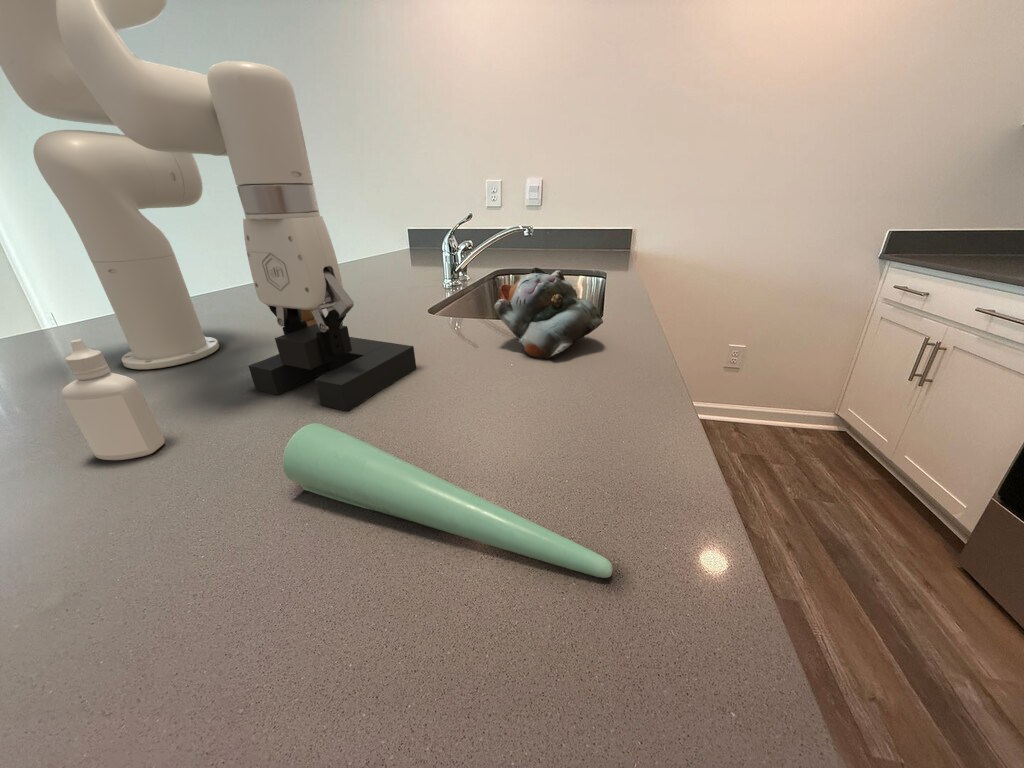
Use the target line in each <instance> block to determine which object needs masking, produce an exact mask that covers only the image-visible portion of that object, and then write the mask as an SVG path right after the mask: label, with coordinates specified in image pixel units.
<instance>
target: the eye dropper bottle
mask: <svg viewBox="0 0 1024 768" xmlns="http://www.w3.org/2000/svg"><path fill="white" fill-rule="evenodd" d="M70 344H71V349H72V352H71V354H70V355H68V356H66V357H65V362H66V364H67V365H68V367H69V369H70V371H71V373H72V376H73V377H74V379H75V380H73V381H71V382H70V383H68V384H66V385H65V386H64V387H63V388H62V390H61V397H62V398H63V400H64V403H65V404H66V406H67V408H68V410H69V412H70V414H71V415H72V418H73V419H74V421H75V423H76V425H77V427H78V429H79V430H80V432H81V435H83V437H84V439H85V441H86V443H87V445H88V446H89V448H90V450H91V452H92V454H93V455H94V456H95V457H96V458H97V459H99V460H103V461H124V460H132V459H136V458H141V457H146V456H149V455H151V454H153V453H155V452H156V451H157V450H159V449H160V448H161V447H162V446H163V445H164V444H165V438H164V435H163V433H162V431H161V430H160V427H159V425H158V423H157V421H156V418H155V417H154V414H153V411H152V410H151V407H150V405H149V403H148V401H147V399H146V396H145V395H144V393H143V391H142V388H141V386H140V385H139V383H138V382H137V381H136V380H135V379H134V378H132V377H129V376H128V375H123V374H119V373H114V372H111V369H110V366H109V364H108V362H107V360H106V358H105V356H104V354H103V352H102V351H101V350H97V349H91V348H89V346H88V345H87V344H85V342H84V341H83V340H82V339H74V340H71V341H70Z"/></svg>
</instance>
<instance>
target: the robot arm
mask: <svg viewBox="0 0 1024 768" xmlns="http://www.w3.org/2000/svg"><path fill="white" fill-rule="evenodd" d="M167 4H168V0H0V68H1V69H2V72H3V74H4V75H5V77H6V80H8V82H9V84H10V85H11V87H12V89H13V90H14V91H15V93H16V94H17V96H18V97H19V98H20V100H21V101H22V102H23V103H24V104H25V105H26V106H27V107H28V108H29V109H31V110H32V111H34V112H36V113H37V114H39V115H42V116H45V117H47V118H51V119H55V120H56V119H57V120H61V121H68V122H74V123H75V122H76V123H83V124H84V123H86V124H93V125H101V126H102V125H103V126H111V127H117V129H119V130H120V132H122V133H123V134H122V133H116V132H104V131H95V130H83V129H60V130H58V129H57V130H53V131H49V132H46V133H43V134H42V135H41V136H39V137H38V138H37V139H36V140H35V142H34V145H33V151H32V152H33V158H34V161H35V164H36V167H37V168H38V171H39V172H40V174H41V176H42V178H43V179H44V181H45V183H46V184H47V186H48V187H49V188H50V190H51V191H52V193H53V194H54V196H55V198H57V200H58V202H59V204H60V205H61V206H62V208H63V209H64V211H65V213H66V214H67V216H68V218H69V220H70V221H71V224H72V225H73V227H74V229H75V230H76V232H77V234H78V236H79V239H80V240H81V243H82V244H83V247H84V249H85V251H86V253H87V256H88V258H89V260H90V262H91V264H92V266H93V268H94V270H95V273H96V275H97V277H98V279H99V282H100V284H101V286H102V289H103V291H104V293H105V295H106V297H107V299H108V301H109V304H110V306H111V308H112V310H113V312H114V315H115V317H116V319H117V321H118V324H119V326H120V328H121V331H122V332H123V334H124V337H125V339H126V342H127V344H128V347H129V348H130V351H128V352H126V353H124V355H123V356H122V357H121V362H122V365H123V366H124V367H125V368H127V369H130V370H131V369H132V370H153V369H154V370H156V369H163V368H169V367H174V366H175V367H176V366H180V365H183V364H187V363H192V362H195V361H197V360H200V359H203V358H205V357H208V356H210V355H213V353H215V352H216V351H218V350H219V348H220V343H219V341H218V339H216V338H214V337H210V336H205V334H204V331H203V328H202V325H201V322H200V320H199V318H198V315H197V312H196V309H195V306H194V303H193V300H192V298H191V295H190V292H189V290H188V287H187V284H186V282H185V279H184V276H183V273H182V271H181V270H182V269H181V268H180V265H179V262H178V260H177V256H176V254H175V252H174V249H173V246H172V244H171V241H170V240H169V238H168V237H167V235H166V234H165V233H164V232H163V231H162V230H161V228H159V226H157V225H156V224H155V223H154V222H152V221H151V220H150V219H149V218H148V217H147V216H145V215H144V213H142V212H141V211H140V210H146V209H169V208H184V207H190V206H193V205H195V204H197V203H198V202H199V201H200V200H201V198H202V195H203V191H204V190H203V180H202V175H201V172H200V168H199V166H198V163H197V161H196V158H195V156H194V154H195V155H197V154H198V155H209V156H210V155H211V156H215V157H227V159H228V161H229V165H230V168H231V171H232V174H233V179H234V181H235V185H236V189H237V193H238V196H239V199H240V204H241V207H242V210H243V213H244V218H242V223H243V227H242V228H243V236H244V242H245V243H244V244H245V250H246V255H247V262H248V266H249V270H250V274H251V278H252V281H253V285H254V289H255V293H256V296H257V298H258V300H259V301H260V302H261V303H263V304H264V305H266V306H267V307H268V308H269V310H270V312H271V313H272V314H273V315H274V316H275V317H276V322H277V324H278V326H279V327H281V328H282V331H283V335H285V334H288V333H291V332H294V331H297V330H300V329H303V328H305V327H308V326H307V323H306V321H301V320H302V310H311V312H312V314H313V316H314V318H315V321H316V323H317V325H318V327H319V329H320V331H319V332H316V333H317V338H318V342H319V346H320V350H321V354H322V359H323V361H324V362H327V363H329V362H331V361H333V360H335V359H338V358H340V357H342V356H344V355H345V350H344V345H343V341H342V336H341V331H340V326H344V320H345V318H346V317H347V314H348V313H349V312H350V311H351V310H352V309H353V308H354V306H355V303H354V300H353V299H352V297H351V296H350V295H349V294H348V292H347V291H346V290H345V289H344V286H343V280H342V275H341V269H340V267H339V262H338V259H337V255H336V252H335V248H334V245H333V242H332V239H331V235H330V232H329V230H328V227H327V225H326V222H325V220H324V217H323V216H321V214H320V209H319V208H320V207H319V204H318V199H317V195H316V190H315V185H314V180H313V175H312V171H311V166H310V161H309V156H308V152H307V145H306V142H305V137H304V132H303V127H302V122H301V118H300V113H299V109H298V104H297V98H296V94H295V91H294V87H293V84H292V82H291V80H290V79H289V77H288V76H287V75H286V74H285V73H284V72H283V71H281V70H280V69H278V68H276V67H273V66H270V65H267V64H263V63H259V62H252V61H246V60H244V61H242V60H226V61H220V62H217V63H214V64H212V65H211V66H210V67H209V69H208V71H207V74H204V73H200V72H197V71H192V70H188V69H184V68H180V67H175V66H171V65H166V64H162V63H157V62H152V61H147V60H144V59H142V58H141V57H139V56H138V55H136V54H134V53H133V52H132V51H131V50H130V49H129V47H128V46H127V45H126V43H125V42H124V40H123V39H122V38H121V36H120V35H119V33H118V32H122V31H126V30H131V29H135V28H139V27H143V26H146V25H148V24H150V23H153V22H154V21H155V20H157V19H158V18H159V17H160V16H161V15H162V14H163V12H164V11H165V9H166V7H167V6H168V5H167ZM325 309H326V311H327V314H326V316H325V314H324V311H323V310H325Z"/></svg>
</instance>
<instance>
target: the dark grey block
mask: <svg viewBox="0 0 1024 768" xmlns="http://www.w3.org/2000/svg"><path fill="white" fill-rule="evenodd" d="M319 331H320V329H319V327H318V325H317V324H314V325H311V326H308V327H305V328H303V329H300V330H297V331H294V332H291V333H288V334H285V335H284V334H283V335H280V336H277V337H275V338H274V341H275V345H276V348H277V351H278V354H279V355H280V359H281V362H282V364H283V365H289V366H294V367H299V368H305V369H310V370H311V369H313V368H316V367H318V366H320V365H322V364H324V363H327V362H324V361H323V359H322V354H321V350H320V346H319V342H318V338H317V333H316V332H319ZM340 331H341V336H342V341H343V345H344V350H345V354H346V353H348V352H350V351H352V347H351V342H350V337H351V336H350V333H349V328H348V326H347V325H342V326H340Z"/></svg>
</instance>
